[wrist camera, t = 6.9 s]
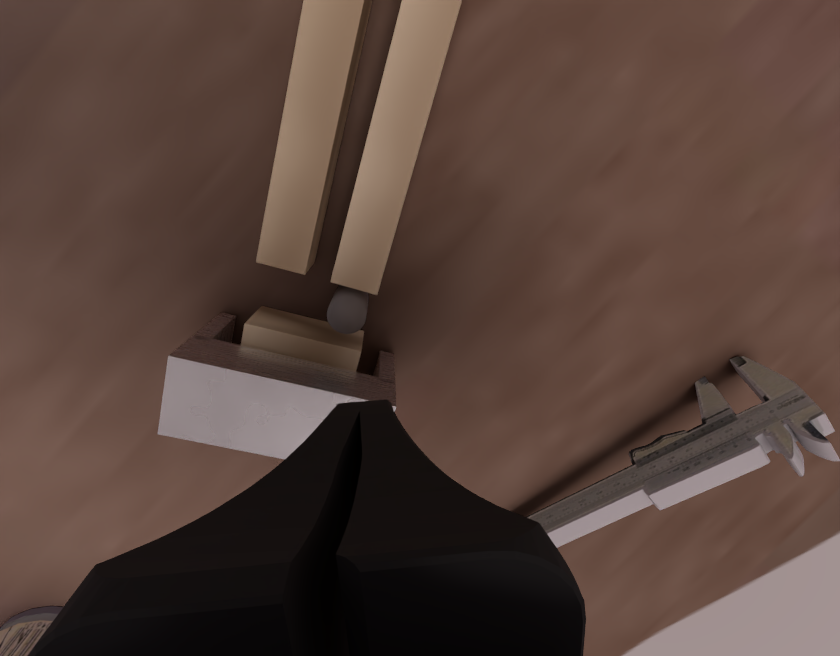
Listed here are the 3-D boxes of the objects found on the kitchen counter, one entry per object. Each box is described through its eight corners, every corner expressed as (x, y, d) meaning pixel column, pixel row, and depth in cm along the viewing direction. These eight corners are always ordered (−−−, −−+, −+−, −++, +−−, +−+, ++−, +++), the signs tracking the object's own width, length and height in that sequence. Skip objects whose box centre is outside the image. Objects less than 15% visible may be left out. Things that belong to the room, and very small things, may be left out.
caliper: (733, 349, 21) (867, 416, 15) (743, 366, 22) (878, 437, 16) (395, 584, 24) (398, 716, 18) (408, 595, 25) (416, 729, 19)
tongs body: (245, 391, 20) (226, 419, 18) (341, -109, 15) (332, -161, 13) (342, 412, 21) (337, 442, 18) (467, -60, 15) (481, -101, 13)
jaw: (327, 308, 19) (318, 327, 17) (426, -79, 15) (434, -127, 13) (367, 319, 19) (364, 339, 17) (475, -59, 15) (491, -102, 13)
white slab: (211, 373, 19) (157, 434, 15) (221, 311, 19) (168, 355, 14) (377, 410, 20) (375, 477, 16) (393, 353, 20) (396, 406, 15)
